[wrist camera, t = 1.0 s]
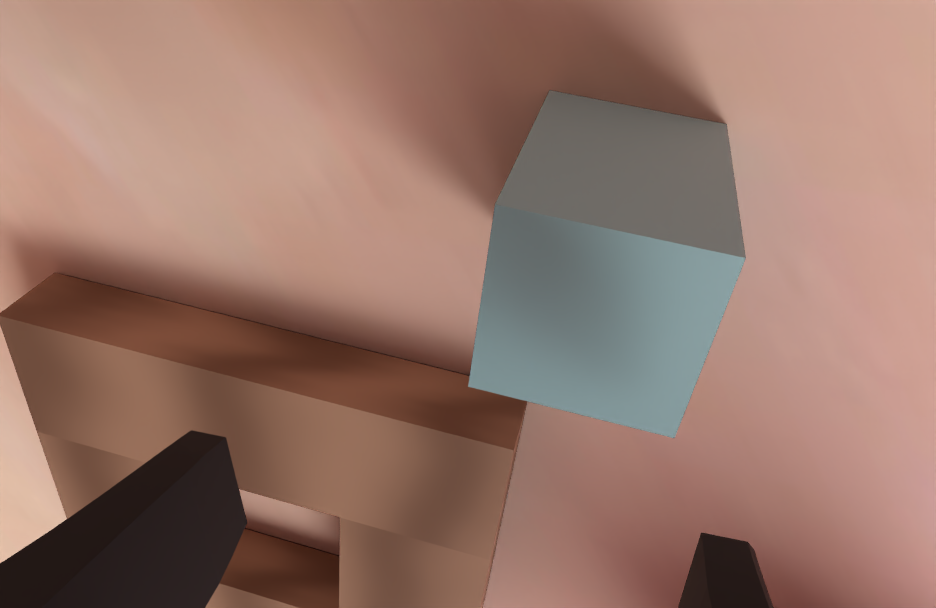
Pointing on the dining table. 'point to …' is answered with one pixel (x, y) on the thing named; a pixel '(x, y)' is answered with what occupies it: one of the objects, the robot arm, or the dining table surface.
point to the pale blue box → (609, 263)
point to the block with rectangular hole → (276, 440)
